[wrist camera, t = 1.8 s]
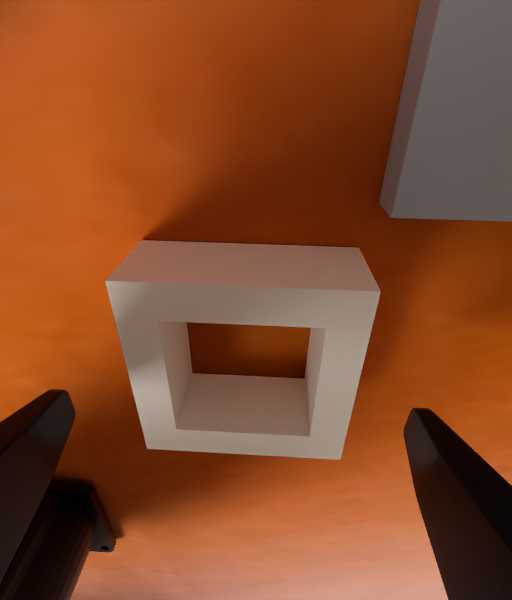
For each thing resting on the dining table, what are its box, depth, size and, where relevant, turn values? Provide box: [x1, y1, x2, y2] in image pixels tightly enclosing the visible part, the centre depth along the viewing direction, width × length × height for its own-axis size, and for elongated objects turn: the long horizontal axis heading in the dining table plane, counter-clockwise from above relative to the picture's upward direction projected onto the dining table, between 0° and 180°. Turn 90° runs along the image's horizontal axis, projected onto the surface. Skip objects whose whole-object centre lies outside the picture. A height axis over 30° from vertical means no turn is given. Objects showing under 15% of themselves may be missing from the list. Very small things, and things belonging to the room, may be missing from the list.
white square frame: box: [105, 240, 381, 460], centre depth 11 cm, size 6×6×2 cm
